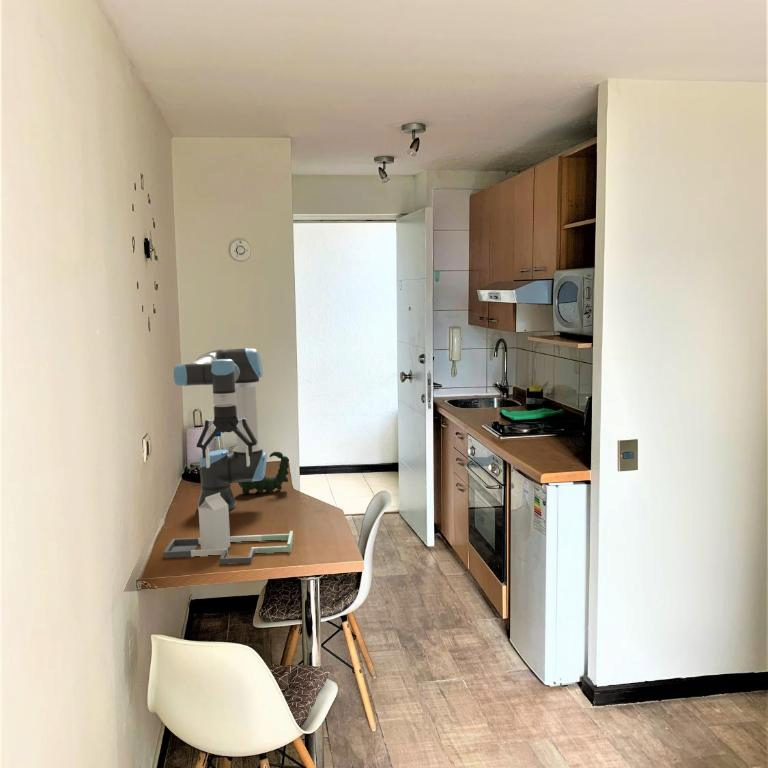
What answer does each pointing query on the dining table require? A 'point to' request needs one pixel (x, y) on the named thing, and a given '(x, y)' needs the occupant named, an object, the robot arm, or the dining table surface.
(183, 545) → the trap lane
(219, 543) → the milk carton
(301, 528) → the dining table surface
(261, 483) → the toy figurine
